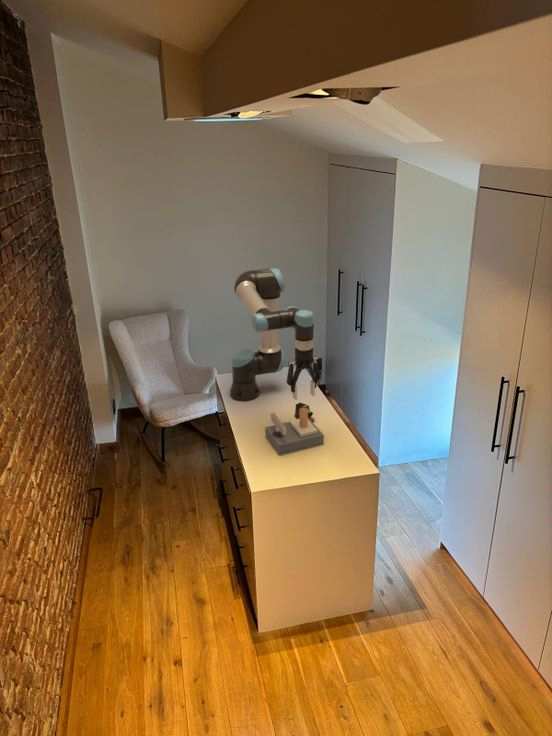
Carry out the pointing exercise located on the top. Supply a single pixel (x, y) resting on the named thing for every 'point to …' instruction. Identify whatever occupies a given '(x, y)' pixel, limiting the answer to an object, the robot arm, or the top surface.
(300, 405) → the electronic device
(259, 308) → the robot arm
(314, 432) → the cover
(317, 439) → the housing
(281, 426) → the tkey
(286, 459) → the top surface
